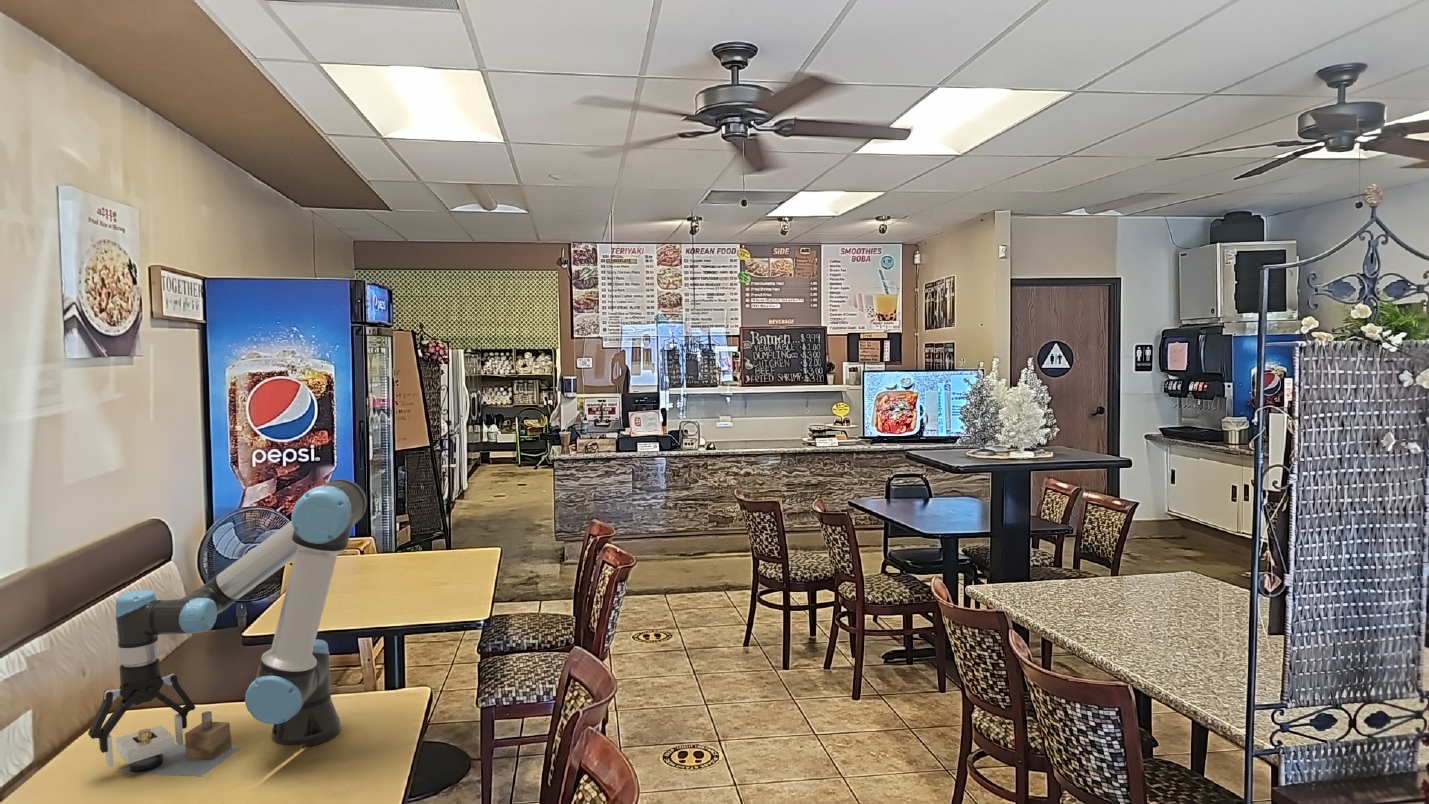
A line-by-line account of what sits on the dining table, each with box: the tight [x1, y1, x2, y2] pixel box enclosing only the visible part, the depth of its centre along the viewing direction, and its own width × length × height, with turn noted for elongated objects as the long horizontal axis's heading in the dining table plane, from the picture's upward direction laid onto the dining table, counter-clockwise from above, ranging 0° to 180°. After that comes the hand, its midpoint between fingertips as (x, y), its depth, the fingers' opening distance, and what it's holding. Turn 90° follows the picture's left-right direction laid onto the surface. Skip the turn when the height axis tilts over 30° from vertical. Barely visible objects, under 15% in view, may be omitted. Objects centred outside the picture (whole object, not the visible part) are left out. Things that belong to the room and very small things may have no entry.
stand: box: [184, 710, 232, 760], centre depth 204 cm, size 6×6×10 cm
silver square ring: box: [115, 724, 175, 765], centre depth 199 cm, size 9×9×3 cm
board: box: [118, 743, 243, 778], centre depth 202 cm, size 20×14×1 cm
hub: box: [128, 728, 163, 774], centre depth 199 cm, size 6×6×8 cm
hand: (145, 754), depth 199 cm, fingers open, 13 cm apart
